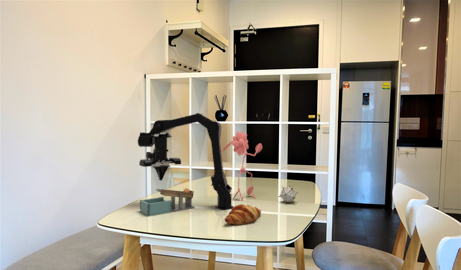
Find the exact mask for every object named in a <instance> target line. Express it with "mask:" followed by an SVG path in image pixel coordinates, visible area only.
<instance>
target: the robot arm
mask: <svg viewBox="0 0 461 270" xmlns="http://www.w3.org/2000/svg"><path fill="white" fill-rule="evenodd" d="M195 123H198V124H199V125H201V126H202V127H204V128H206V130H207V134H208V137H209V139H210V143H211V152H212V153H211V154H212V161H213V169H214V170H213V172H214V173H213V174H212V175H211V176H210V180H211V187H212V188H213V190H214V191H215V192H216V193H217V204H216V205H214V207H215V208H216V209H220V210H222V211H223V210H229V209H232V208H233V207H235V206H234V205H232V194H231V192H232V190H233V188H232V186H231V185H229V183H228V179H227V177H226V173H225V171H224V165H223V155H222V147H221V136H222V125H221V123H220V122H219V121H216V120H211V119H210V118H209V117H207V116H205V115H204V114H203V113H200V112H196V113H195V114H190V115H185V116H182V117H178V118H174V119H160V120H155V122H154V123H153V125H152V128H151V129H150V131H149V132H143V131H142V132H139V135H138V139H137V146H138V147H141V148H143V147H144V148H153V146H154V148H153V150H152V151H147V152H145V159H142V158H141V159H140V160H139V166H140V167H143V168H144V167H145V168H146V167H147V168H148V167H152V168H154V170H155V172H156V173H157V174H156V175H157V177H158V180H159V181H163V178H164V176H165V174H166V172H167V171H168V169H169V168H171V165H170V164H174V165H182V159H181V158H179V157H169V158H168V152H169V149H168V139H169V138H170V139H171V138H172V135H171V134H170V133H169V132H170V131H171V130H173V129H175V128H179V127H182V126H187V125H190V124H195Z"/></svg>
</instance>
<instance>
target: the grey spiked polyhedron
mask: <svg viewBox="0 0 461 270" xmlns="http://www.w3.org/2000/svg"><path fill="white" fill-rule="evenodd" d="M281 188H282V189H281V192H280V195H278V198H279V197H280V198H281V199H282V200H283V202H285V204H288V203H290V202H293V203H295V199H296V195H297V194H298V193H299V192H297V191H295V190H294V188H293V187H291V185H289V186H287V187H284V186H282V187H281Z"/></svg>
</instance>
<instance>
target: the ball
mask: <svg viewBox="0 0 461 270" xmlns="http://www.w3.org/2000/svg"><path fill="white" fill-rule="evenodd" d="M182 191H183V193H190V188H187V187H186V188H184V189H183V190H182Z"/></svg>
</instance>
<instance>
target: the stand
mask: <svg viewBox="0 0 461 270" xmlns="http://www.w3.org/2000/svg"><path fill="white" fill-rule="evenodd" d="M183 199H185V201H184V200H183ZM170 200H171V201H172V212H173V213H174V212H180V211H185V210H192V209H195V208H196V207H195V206H194V205H193V204H192V203H193V198H183V194H179V197H178V203H176V197H171V196H170ZM183 201H184V202H183ZM172 212H171V213H172Z"/></svg>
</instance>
